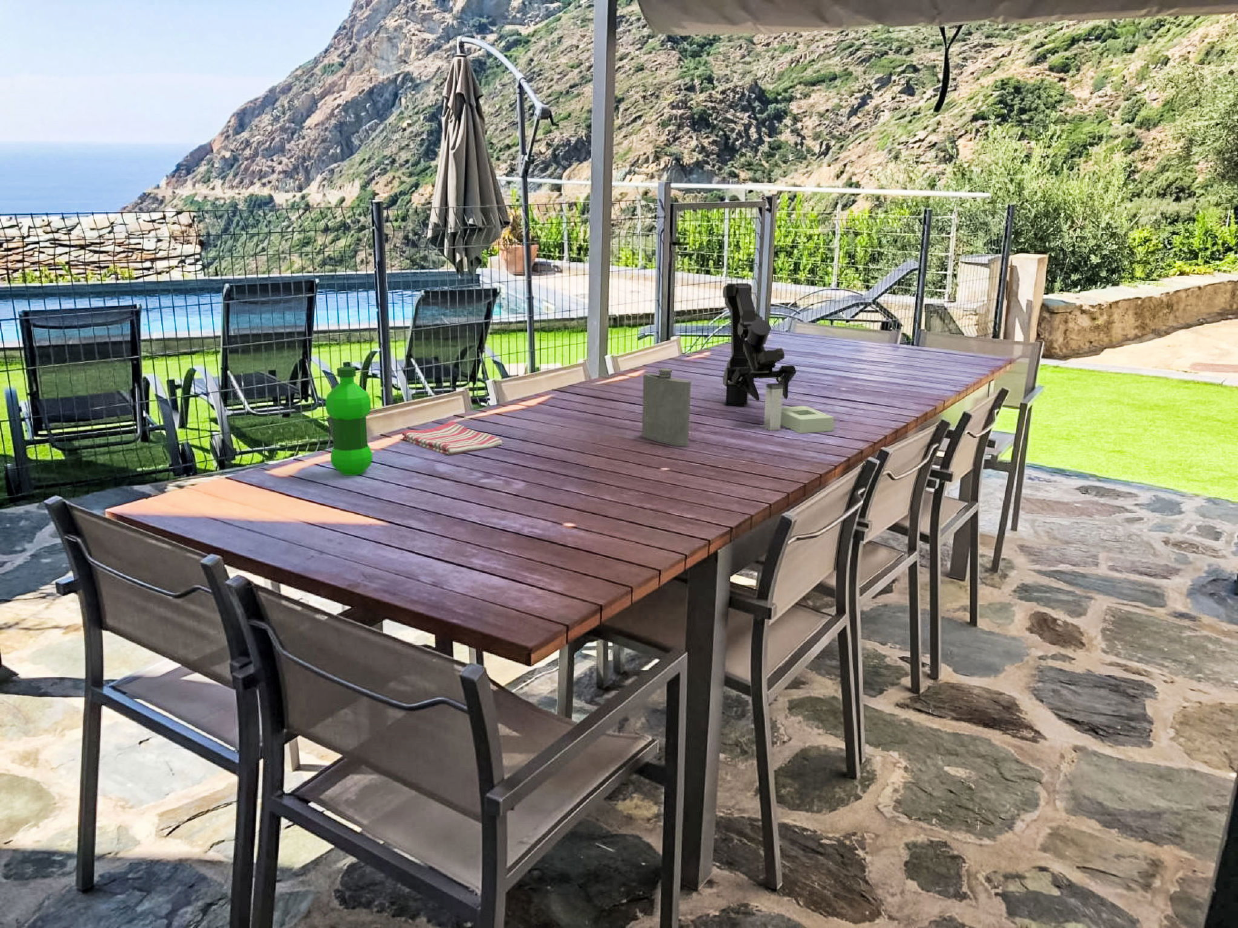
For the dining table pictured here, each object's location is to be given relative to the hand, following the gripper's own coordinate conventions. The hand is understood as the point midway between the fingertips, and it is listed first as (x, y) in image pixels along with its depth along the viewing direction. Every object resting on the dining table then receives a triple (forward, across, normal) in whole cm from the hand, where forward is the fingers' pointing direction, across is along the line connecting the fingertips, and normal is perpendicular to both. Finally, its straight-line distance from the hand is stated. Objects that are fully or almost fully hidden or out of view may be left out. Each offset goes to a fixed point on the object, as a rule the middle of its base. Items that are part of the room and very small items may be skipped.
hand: (772, 399), depth 275 cm
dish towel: (0, -91, +13) cm, 92 cm away
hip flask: (+10, -36, +3) cm, 37 cm away
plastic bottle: (+15, -119, -2) cm, 120 cm away
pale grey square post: (+6, 0, +6) cm, 9 cm away
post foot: (+6, +11, +6) cm, 14 cm away
